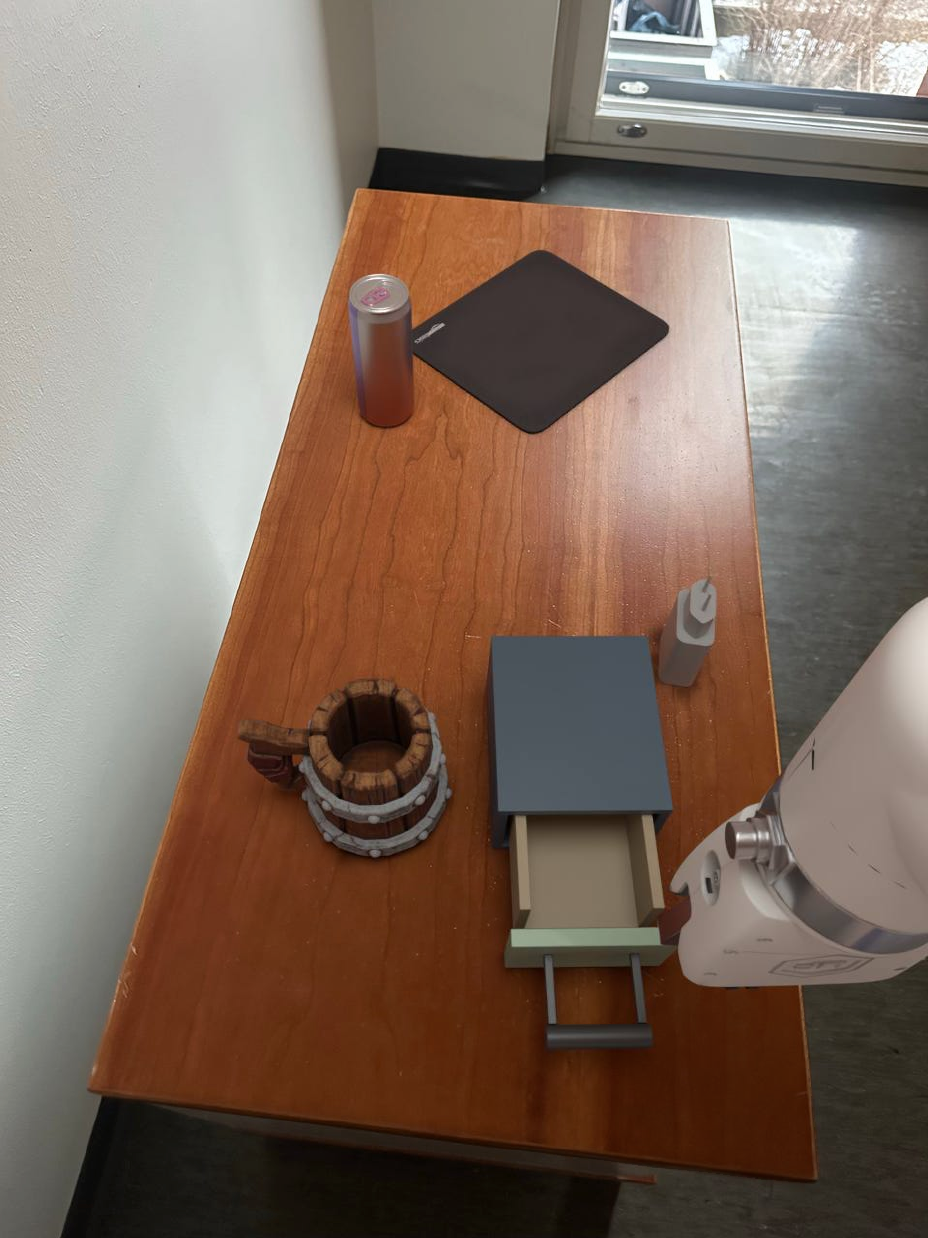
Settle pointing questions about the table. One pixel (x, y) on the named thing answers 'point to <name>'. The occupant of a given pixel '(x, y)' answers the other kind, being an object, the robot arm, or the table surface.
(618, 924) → the drawer
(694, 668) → the power adapter
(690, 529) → the table surface
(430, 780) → the mug
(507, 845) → the cabinet
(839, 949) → the robot arm
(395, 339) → the beverage can
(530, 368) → the mouse pad
